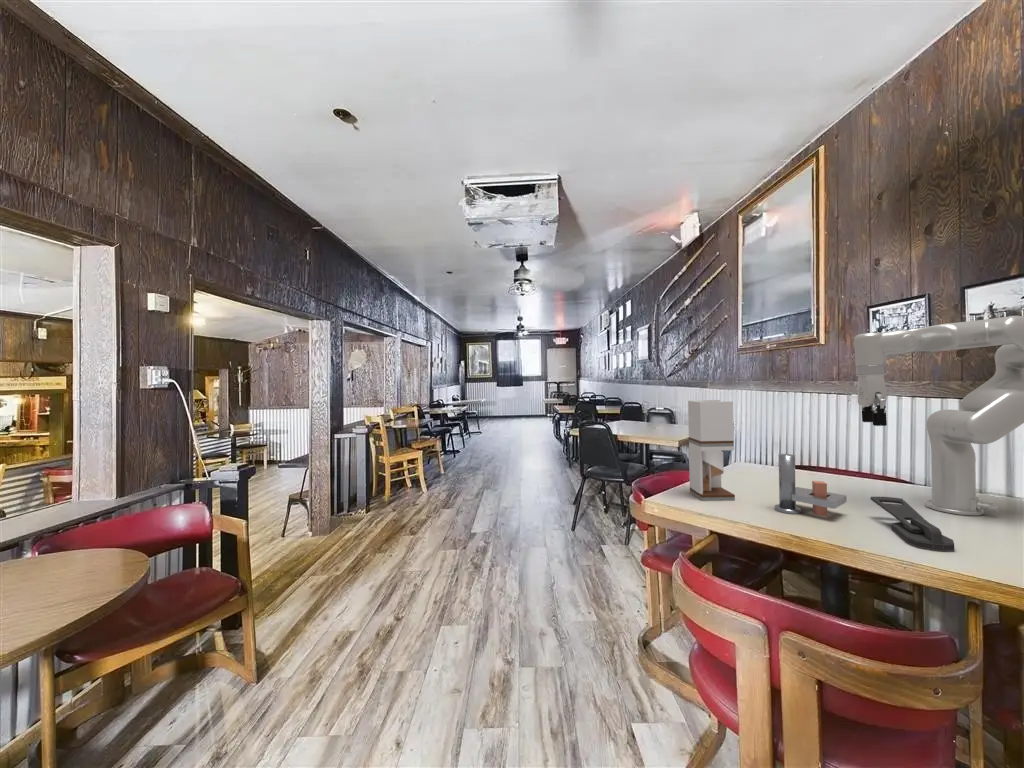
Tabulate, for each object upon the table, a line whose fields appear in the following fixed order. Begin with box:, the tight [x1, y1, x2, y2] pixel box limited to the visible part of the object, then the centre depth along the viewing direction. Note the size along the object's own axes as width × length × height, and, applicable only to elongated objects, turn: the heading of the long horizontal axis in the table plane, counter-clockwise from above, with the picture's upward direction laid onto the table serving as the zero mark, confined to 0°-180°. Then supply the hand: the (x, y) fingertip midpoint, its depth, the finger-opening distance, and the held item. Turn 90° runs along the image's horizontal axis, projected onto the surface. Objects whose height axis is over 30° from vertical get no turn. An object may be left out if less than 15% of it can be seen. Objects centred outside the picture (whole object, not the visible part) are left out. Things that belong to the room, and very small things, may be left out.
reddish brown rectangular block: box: [811, 480, 828, 517], centre depth 127 cm, size 3×3×10 cm
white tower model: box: [687, 399, 736, 502], centre depth 148 cm, size 11×11×35 cm
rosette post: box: [774, 453, 848, 515], centre depth 129 cm, size 16×13×18 cm
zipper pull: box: [870, 495, 955, 553], centre depth 111 cm, size 9×7×25 cm
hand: (874, 423), depth 131 cm, fingers open, 9 cm apart
